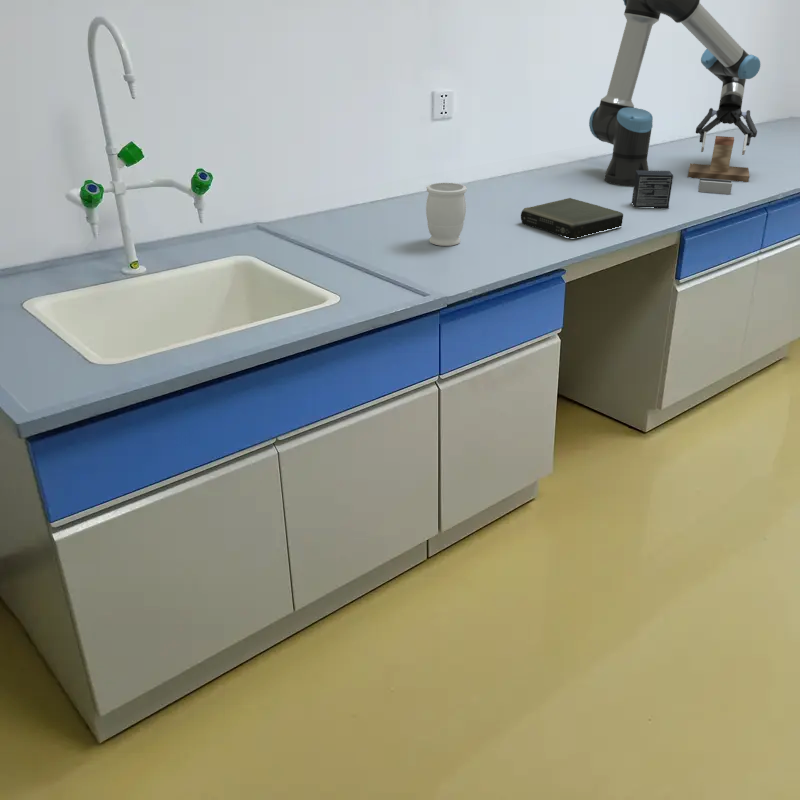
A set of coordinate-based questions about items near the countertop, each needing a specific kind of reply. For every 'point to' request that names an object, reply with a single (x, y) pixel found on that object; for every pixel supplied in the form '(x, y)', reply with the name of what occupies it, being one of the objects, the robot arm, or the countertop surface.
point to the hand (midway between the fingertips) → (722, 151)
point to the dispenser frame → (715, 186)
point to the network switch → (571, 217)
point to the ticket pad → (722, 153)
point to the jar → (445, 212)
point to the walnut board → (719, 173)
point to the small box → (652, 189)
